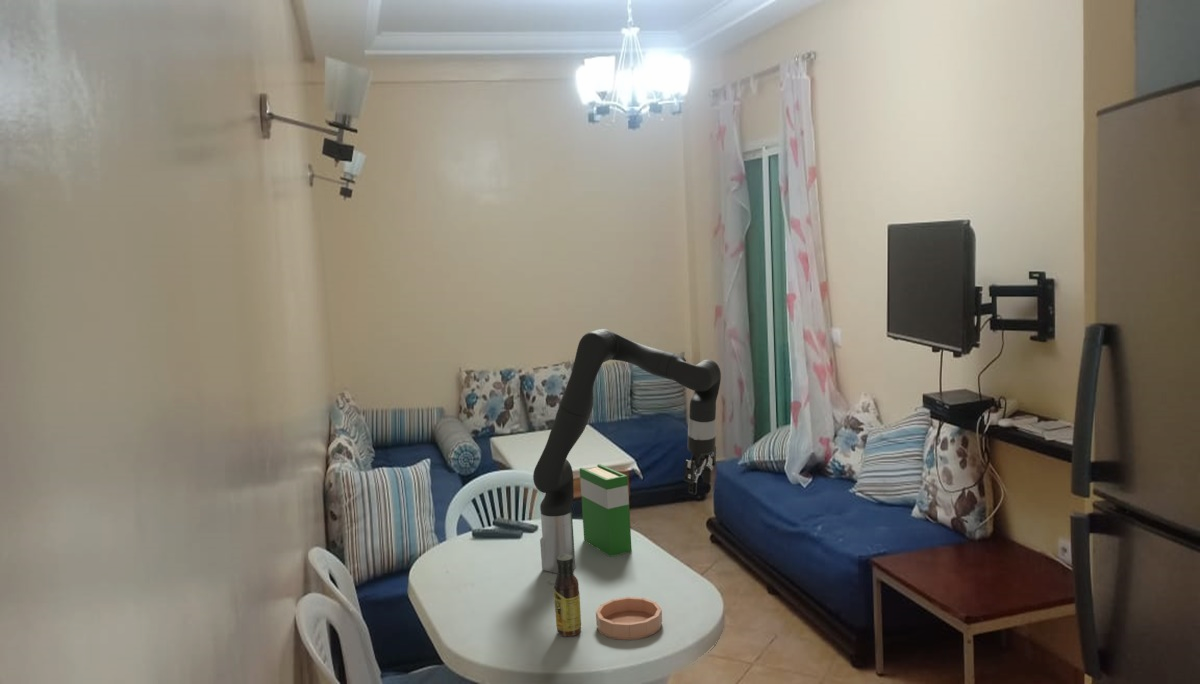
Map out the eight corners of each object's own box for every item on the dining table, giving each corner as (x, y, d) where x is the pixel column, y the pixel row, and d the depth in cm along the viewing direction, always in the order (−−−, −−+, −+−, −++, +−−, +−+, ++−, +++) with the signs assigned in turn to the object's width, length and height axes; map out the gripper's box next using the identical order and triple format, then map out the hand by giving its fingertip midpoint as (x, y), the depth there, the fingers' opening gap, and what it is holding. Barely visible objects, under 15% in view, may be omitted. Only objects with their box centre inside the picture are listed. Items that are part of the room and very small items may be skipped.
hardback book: (584, 540, 290) (579, 468, 287) (604, 535, 294) (599, 464, 291) (610, 556, 275) (606, 480, 272) (631, 551, 278) (627, 475, 275)
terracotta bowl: (590, 637, 221) (589, 622, 221) (607, 610, 236) (606, 595, 236) (653, 642, 217) (653, 626, 216) (667, 614, 232) (666, 599, 231)
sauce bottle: (556, 628, 228) (551, 552, 225) (580, 625, 228) (576, 550, 226) (557, 639, 221) (552, 562, 219) (582, 637, 222) (577, 559, 219)
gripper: (701, 422, 251) (699, 475, 256) (676, 438, 239) (675, 494, 244) (725, 428, 247) (723, 482, 252) (702, 444, 236) (699, 501, 240)
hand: (699, 488), depth 248 cm, fingers open, 8 cm apart
